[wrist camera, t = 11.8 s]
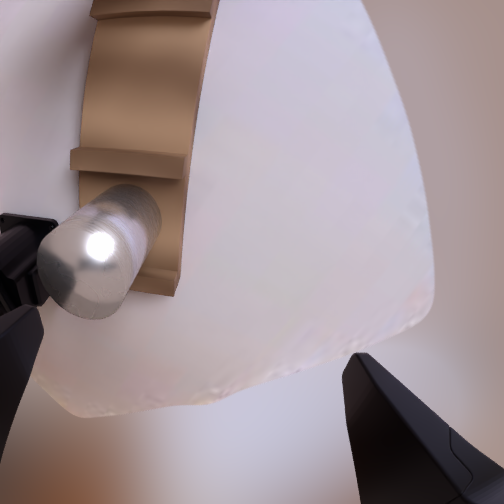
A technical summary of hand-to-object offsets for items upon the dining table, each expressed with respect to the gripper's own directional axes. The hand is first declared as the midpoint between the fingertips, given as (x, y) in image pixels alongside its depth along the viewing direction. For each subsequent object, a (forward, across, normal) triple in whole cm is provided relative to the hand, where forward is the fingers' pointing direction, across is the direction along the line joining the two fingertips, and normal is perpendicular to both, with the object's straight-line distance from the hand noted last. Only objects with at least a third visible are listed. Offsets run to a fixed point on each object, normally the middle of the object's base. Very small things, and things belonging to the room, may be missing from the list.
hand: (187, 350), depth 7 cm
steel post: (+12, +6, +2) cm, 13 cm away
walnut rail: (+13, +6, -7) cm, 16 cm away
